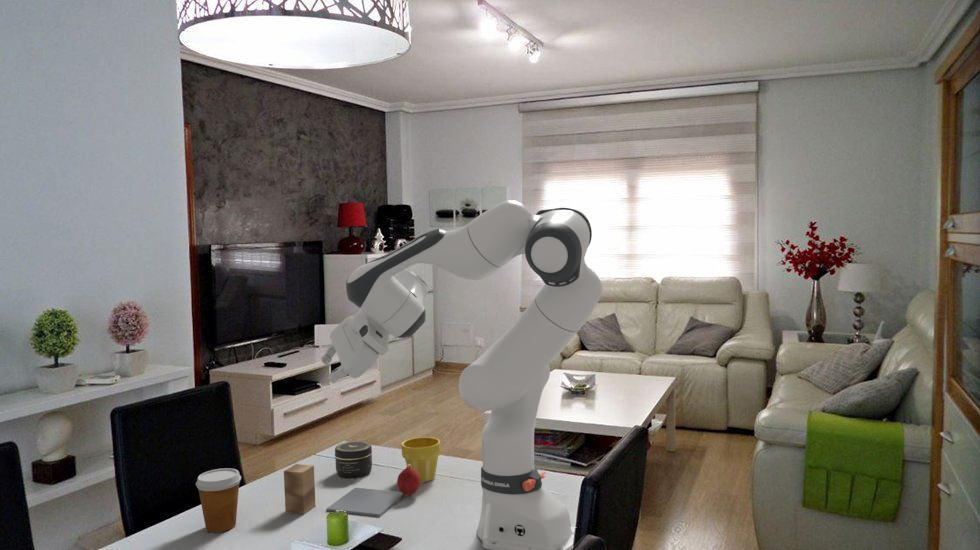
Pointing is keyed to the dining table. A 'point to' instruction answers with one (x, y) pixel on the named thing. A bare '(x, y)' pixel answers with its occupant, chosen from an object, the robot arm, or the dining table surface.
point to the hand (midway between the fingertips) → (326, 371)
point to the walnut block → (299, 489)
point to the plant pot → (422, 455)
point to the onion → (408, 481)
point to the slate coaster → (366, 501)
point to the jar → (353, 459)
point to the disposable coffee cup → (219, 498)
